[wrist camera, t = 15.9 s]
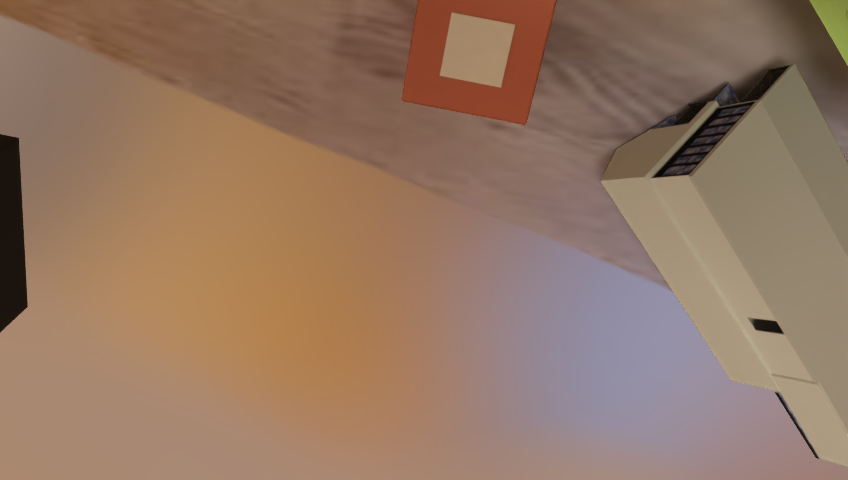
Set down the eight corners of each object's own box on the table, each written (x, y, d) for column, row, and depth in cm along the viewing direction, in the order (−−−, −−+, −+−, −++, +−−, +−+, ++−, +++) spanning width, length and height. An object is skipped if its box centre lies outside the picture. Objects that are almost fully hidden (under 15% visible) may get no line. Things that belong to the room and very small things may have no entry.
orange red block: (415, 63, 36) (400, 101, 30) (434, -48, 34) (423, -31, 28) (518, 83, 36) (526, 126, 30) (544, -26, 34) (558, -5, 28)
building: (936, 406, 38) (813, 381, 44) (828, 44, 34) (709, 71, 40) (813, 527, 34) (697, 481, 40) (674, 134, 30) (568, 149, 36)
